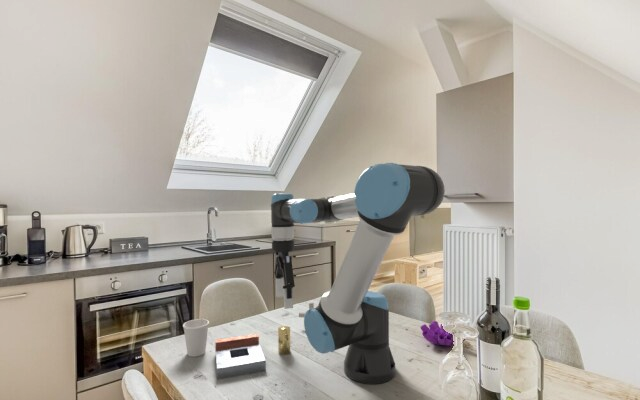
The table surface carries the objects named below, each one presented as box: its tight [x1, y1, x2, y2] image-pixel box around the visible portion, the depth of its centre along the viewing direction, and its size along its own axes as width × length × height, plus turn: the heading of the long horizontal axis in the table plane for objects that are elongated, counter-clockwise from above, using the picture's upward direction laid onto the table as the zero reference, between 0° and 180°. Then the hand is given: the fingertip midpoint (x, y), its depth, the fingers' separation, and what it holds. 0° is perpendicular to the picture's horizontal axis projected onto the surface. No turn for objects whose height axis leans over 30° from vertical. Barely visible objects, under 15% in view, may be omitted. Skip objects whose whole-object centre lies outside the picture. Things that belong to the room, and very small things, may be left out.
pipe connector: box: [298, 301, 315, 318], centre depth 133 cm, size 10×10×10 cm
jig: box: [214, 333, 267, 380], centre depth 105 cm, size 16×14×5 cm
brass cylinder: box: [277, 325, 291, 356], centre depth 112 cm, size 4×4×8 cm
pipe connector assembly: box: [420, 320, 466, 346], centre depth 117 cm, size 11×15×10 cm
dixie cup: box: [182, 318, 210, 357], centre depth 112 cm, size 8×8×10 cm
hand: (284, 302), depth 112 cm, fingers open, 13 cm apart
